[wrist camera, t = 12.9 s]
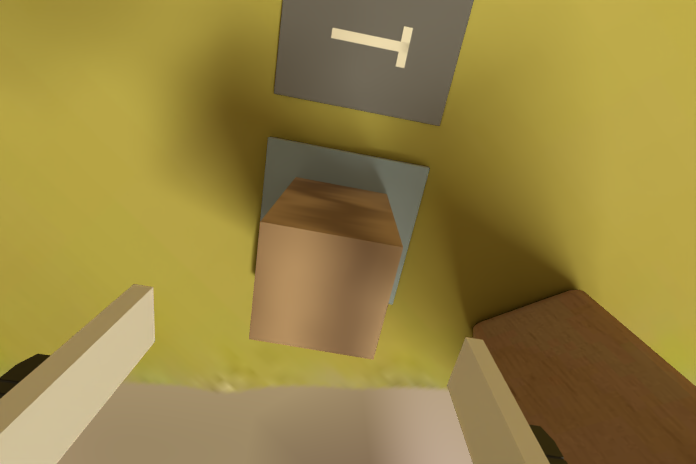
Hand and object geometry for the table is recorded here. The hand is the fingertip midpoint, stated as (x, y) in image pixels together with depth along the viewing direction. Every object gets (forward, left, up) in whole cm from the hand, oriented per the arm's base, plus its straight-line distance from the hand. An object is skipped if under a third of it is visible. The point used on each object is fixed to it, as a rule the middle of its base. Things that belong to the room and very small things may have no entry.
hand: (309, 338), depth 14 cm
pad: (0, 0, -14) cm, 14 cm away
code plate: (0, +15, -14) cm, 21 cm away
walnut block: (0, 0, -14) cm, 14 cm away
